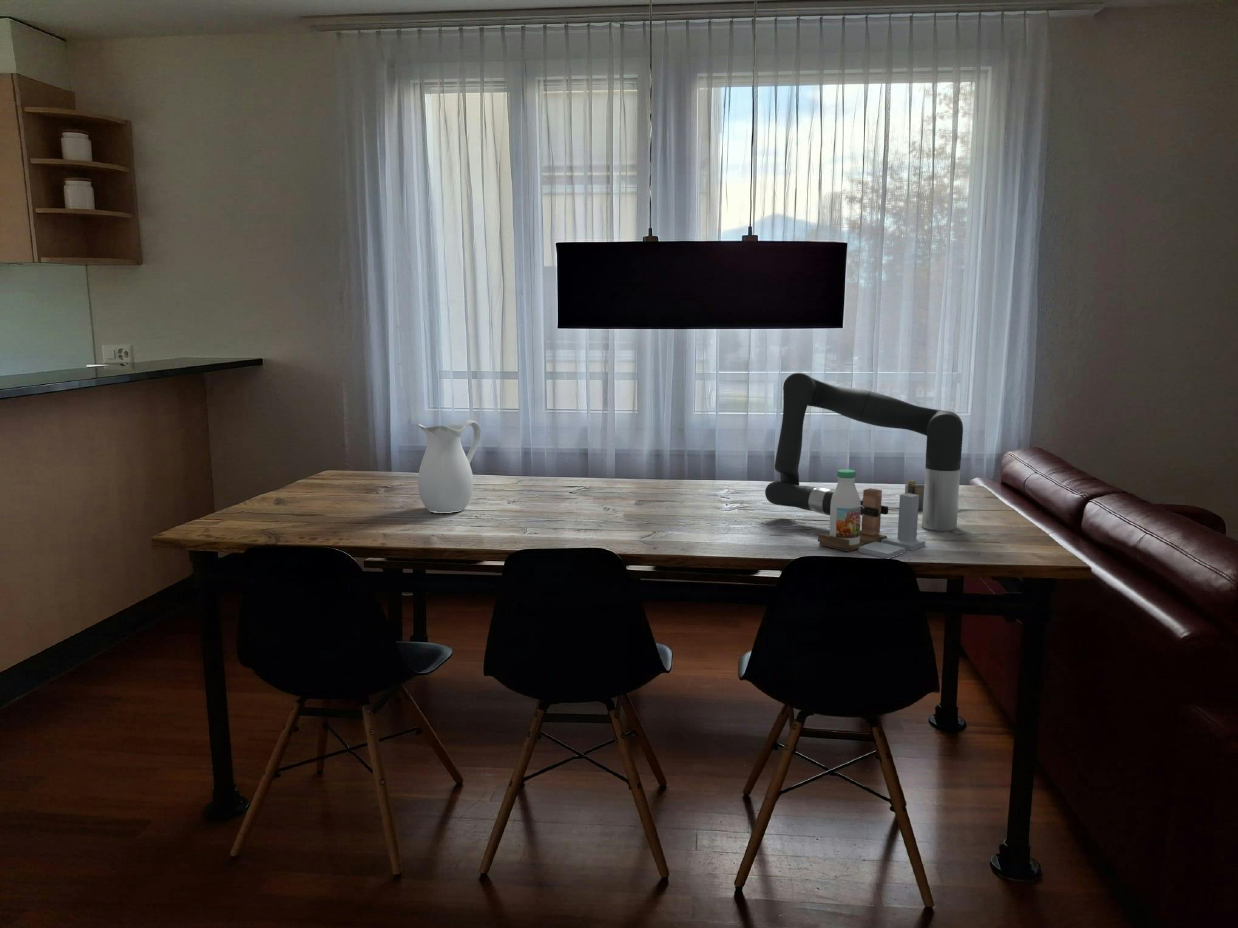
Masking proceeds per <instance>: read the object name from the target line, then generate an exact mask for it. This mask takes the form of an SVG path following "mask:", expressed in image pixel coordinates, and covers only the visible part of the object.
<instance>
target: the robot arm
mask: <svg viewBox="0 0 1238 928" xmlns="http://www.w3.org/2000/svg"><path fill="white" fill-rule="evenodd" d="M782 393H783V394H782V396H783V397H782V398H783V399H782V400H783V401H782V402H783V404H782V405H783V409H782V411H783V412H782V419H781V427H780V435H779V438H778V444H777V448H776V455H775V460H774V461H775V462H774V470H775V471H776V472H777V473H779V475H780V480H776V481H772V482H770V483H769V484H767V486H766V487H765V490H764V494H765V498H766V500H767V501H768V502H769V503H770V504H772V505H775V506H783V507H791V508H797V509H802V510H805V511H809V512H814V513H816V514H821V515H825V516H830V507H831V499H832V495H833V493H834V491H835V489H836V488H835V489H833V488H827V487H819V486H818V487H817V486H811V485H800V475H799V466H800V461H801V460H800V459H801V455H802V448H803V447H802V446H803V433H804V431H803V429H804V421H805V415H806V412H807V408H808V407H812V408H818V409H819V408H820V409H824V410H828V411H831V412H834V413H837V414H839V415H841V416H843V417H846V418H848V419H850V420H854V421H856V422H860V423H864V424H868V425H871V426H875V427H880V428H887V429H899V430H908V431H910V432H915V433H917V434H921V435H924V436H926V444H925V445H926V446H925V447H926V450H925V467H924V482H923V483H924V500H923V508H922V515H921V516H922V518H921V526H922V528H924V529H927V530H931V531H940V532H951V531H955V530H956V529H957V526H958V515H959V514H958V513H959V512H958V511H959V497H960V495H959V491H960V490H959V489H960V477H961V476H960V475H961V465H962V453H963V452H962V450H963V435H964V423H963V421H962V419H961V418H960V416H959V415H958V414H957V413H955V412H953V411H950V410H944V409H936V408H935V409H934V408H931V407H930V408H929V407H924V406H919V405H915V404H911V403H909V402H906V401H904V400H901V399H898V398H895V397H892V396H889V395H886V394H883V393H880V392H879V393H878V392H874V391H871V390H867V389H863V388H862V389H861V388H856V387H845V386H837V385H833V384H830V383H826V382H824V381H821V380H818V379H815V378H814V377H811V376H809V375H808V374H807V373H803V372H794V373H792V374H790V375H788V376H787V377H786V379H785V380H784V382H783V386H782ZM860 503H861V517H862V516H865V515H867V516H872V517H878V516H879V509H876V508H871V507H865V506H863V498H862V499H860ZM888 514H889V506H888V505H882V504H881V515H888Z"/></svg>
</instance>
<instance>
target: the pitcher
mask: <svg viewBox="0 0 1238 928" xmlns="http://www.w3.org/2000/svg"><path fill="white" fill-rule="evenodd" d="M417 425H418V427H419V428H420V429H421V430H422V431H423V432H424V434H425V436H426V449H425V451H424V454H423V456H422V459H421V462H420V466H419V469H418V475H417V487H418V492H419V493H418V494H419V498H420V500H421V502H422V504H423V506H424V507H425V508H426V510H427V511H428V510H430V511H437V512H451V511H459V510H463V509H464V510H465V509H466V508H467V506H468V505H469V503H470V501H471V498H472V496H473V491H474V475H473V470H472V468H471V462H472V459H473V457H474V455H475V453H476V451H477V448H478V446H479V445H480V441H481V432H482V429H481V426H480V424H479V423H478V422H477V421H476V420H473V419H467V420H464V421H463V422H461V423H460V424H454V423H450V424H445V425H434V426H425V425H422V424H421V423H418V424H417ZM468 426H471V427H472V431H473V436H472V441H471V442H472V443H471V445H470V448H469V451H468V452H467V455H466V453H465V451H464V448H463V446H462V441H461V439H462V436H463V433H464V431H465V430H466V429H467V428H468ZM464 510H463V511H464Z"/></svg>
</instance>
